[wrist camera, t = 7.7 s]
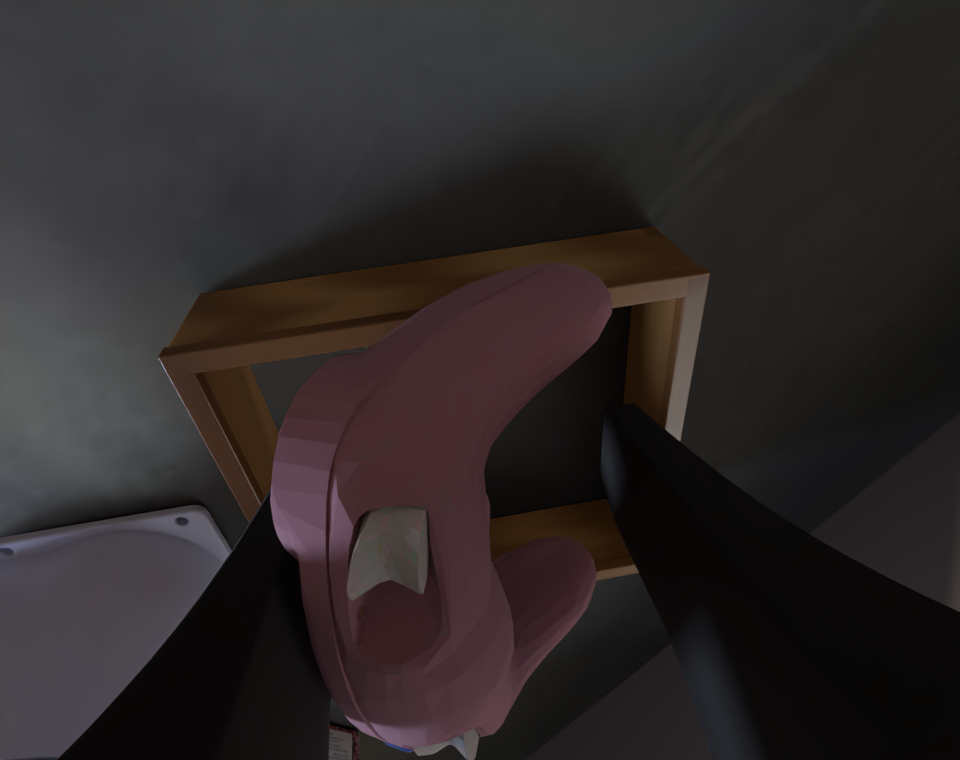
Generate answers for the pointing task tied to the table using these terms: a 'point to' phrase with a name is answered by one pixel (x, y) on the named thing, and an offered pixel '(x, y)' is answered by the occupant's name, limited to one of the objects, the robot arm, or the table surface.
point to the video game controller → (432, 510)
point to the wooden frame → (393, 300)
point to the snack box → (343, 743)
